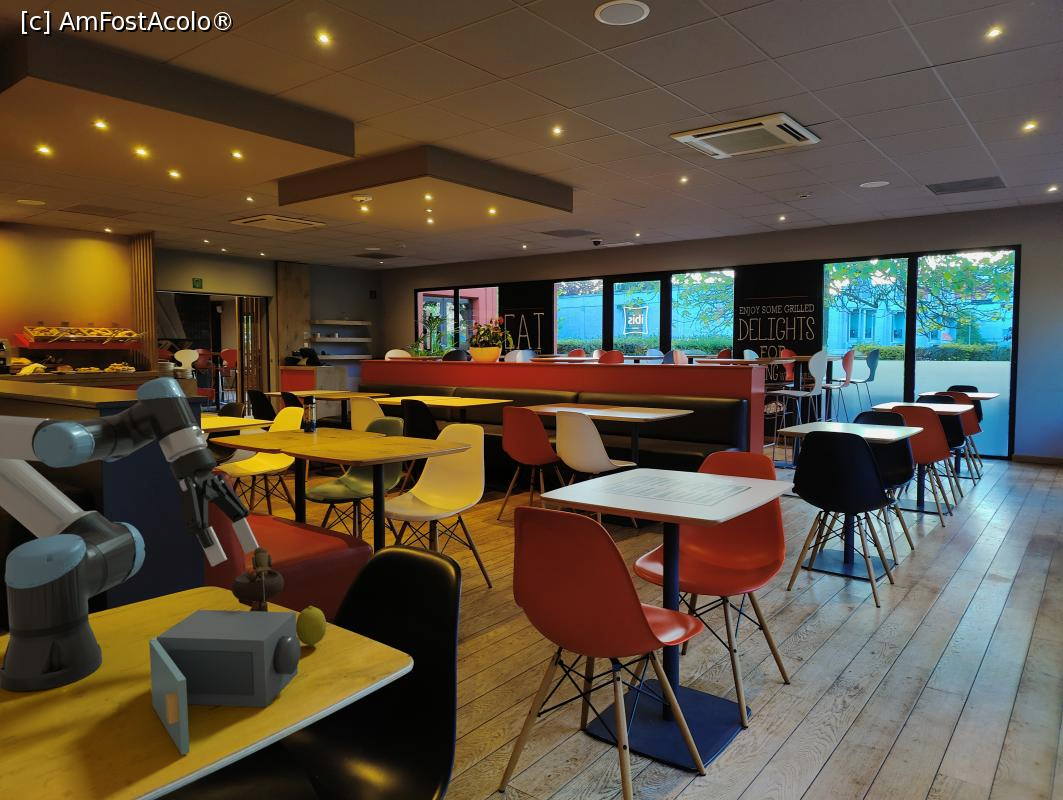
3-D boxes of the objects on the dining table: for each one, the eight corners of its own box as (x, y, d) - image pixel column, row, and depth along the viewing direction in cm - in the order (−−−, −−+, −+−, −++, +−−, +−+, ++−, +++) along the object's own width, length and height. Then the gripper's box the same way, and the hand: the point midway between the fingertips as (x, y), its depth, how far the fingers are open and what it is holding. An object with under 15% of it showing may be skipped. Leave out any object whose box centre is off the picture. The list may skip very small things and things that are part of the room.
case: (158, 703, 115) (155, 637, 114) (200, 669, 127) (198, 609, 126) (277, 708, 113) (274, 641, 112) (308, 673, 125) (306, 612, 124)
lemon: (318, 638, 140) (316, 598, 140) (331, 646, 136) (330, 606, 136) (291, 646, 136) (290, 606, 136) (305, 655, 132) (303, 613, 132)
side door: (143, 706, 113) (140, 641, 112) (158, 702, 115) (155, 637, 114) (172, 757, 99) (168, 683, 98) (189, 752, 100) (186, 679, 100)
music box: (306, 649, 135) (294, 549, 132) (249, 673, 127) (235, 566, 125) (271, 627, 146) (260, 533, 143) (217, 647, 138) (204, 549, 136)
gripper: (170, 447, 122) (223, 558, 120) (236, 445, 147) (280, 537, 145) (132, 467, 122) (184, 578, 120) (204, 461, 147) (248, 554, 145)
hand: (236, 556), depth 133 cm, fingers open, 13 cm apart
